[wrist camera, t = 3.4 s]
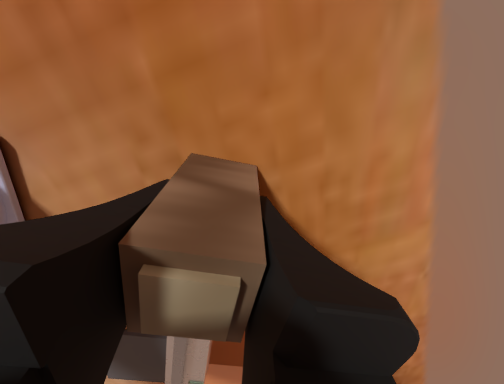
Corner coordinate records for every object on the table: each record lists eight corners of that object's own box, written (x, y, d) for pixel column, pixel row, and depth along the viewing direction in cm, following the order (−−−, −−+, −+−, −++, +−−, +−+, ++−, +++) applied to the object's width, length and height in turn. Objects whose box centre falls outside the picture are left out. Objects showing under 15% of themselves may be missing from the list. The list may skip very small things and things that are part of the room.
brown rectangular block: (186, 208, 13) (122, 342, 6) (191, 153, 11) (110, 253, 5) (244, 218, 13) (240, 353, 7) (256, 165, 11) (267, 274, 5)
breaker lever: (197, 323, 14) (181, 396, 11) (203, 282, 12) (186, 355, 9) (256, 329, 14) (258, 402, 11) (270, 290, 13) (278, 364, 9)
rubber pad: (110, 373, 21) (108, 378, 21) (101, 327, 18) (98, 332, 18) (180, 378, 22) (179, 383, 22) (185, 335, 19) (184, 340, 18)
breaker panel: (171, 368, 21) (161, 406, 19) (181, 225, 13) (165, 258, 11) (249, 375, 22) (249, 412, 20) (303, 244, 14) (315, 279, 12)
